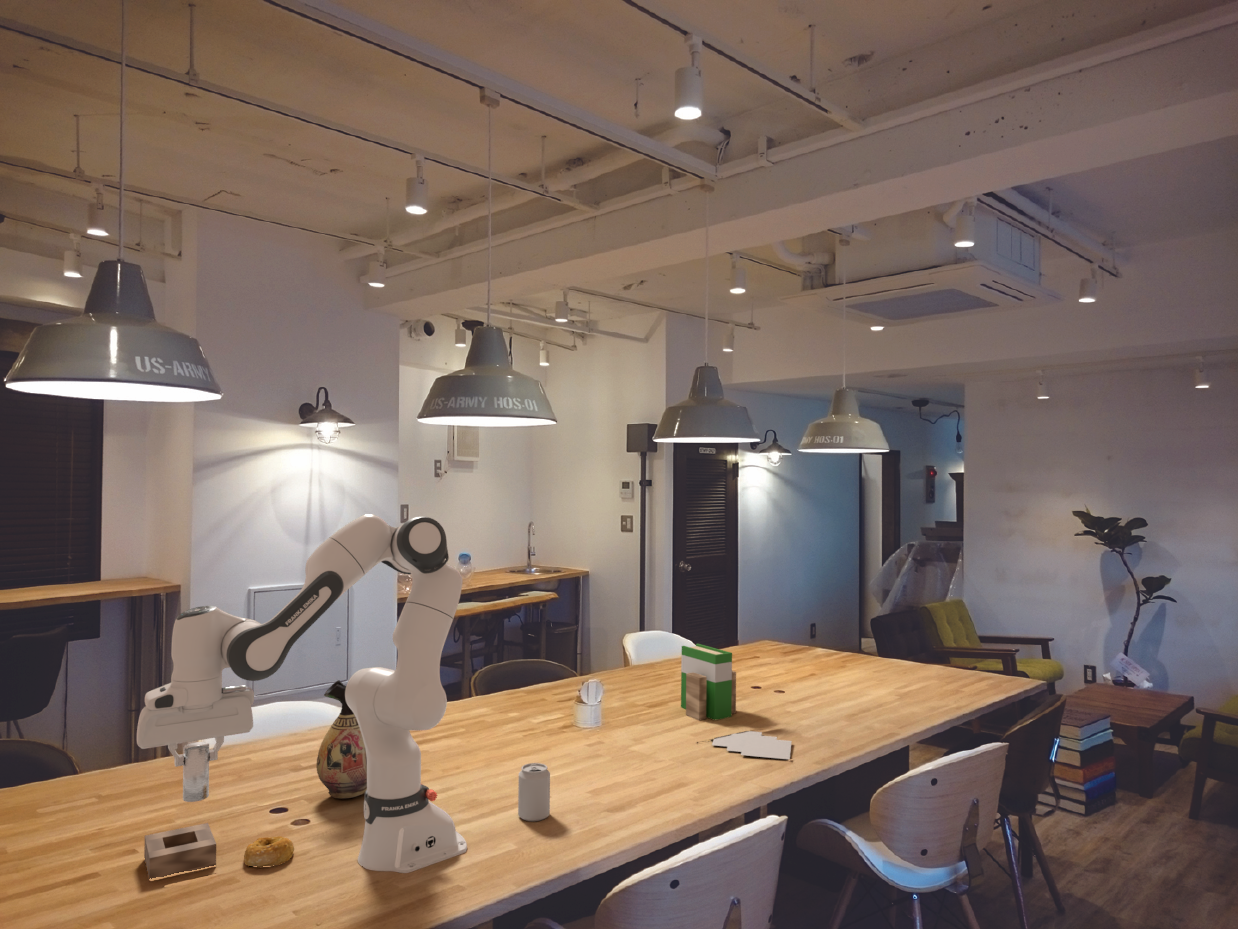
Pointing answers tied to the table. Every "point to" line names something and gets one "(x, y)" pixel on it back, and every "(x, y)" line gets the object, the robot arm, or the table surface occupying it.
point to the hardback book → (709, 678)
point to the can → (534, 792)
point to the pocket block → (179, 850)
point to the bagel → (268, 851)
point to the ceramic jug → (343, 752)
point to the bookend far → (733, 692)
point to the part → (196, 771)
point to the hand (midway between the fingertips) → (196, 762)
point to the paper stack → (755, 745)
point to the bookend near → (696, 696)
